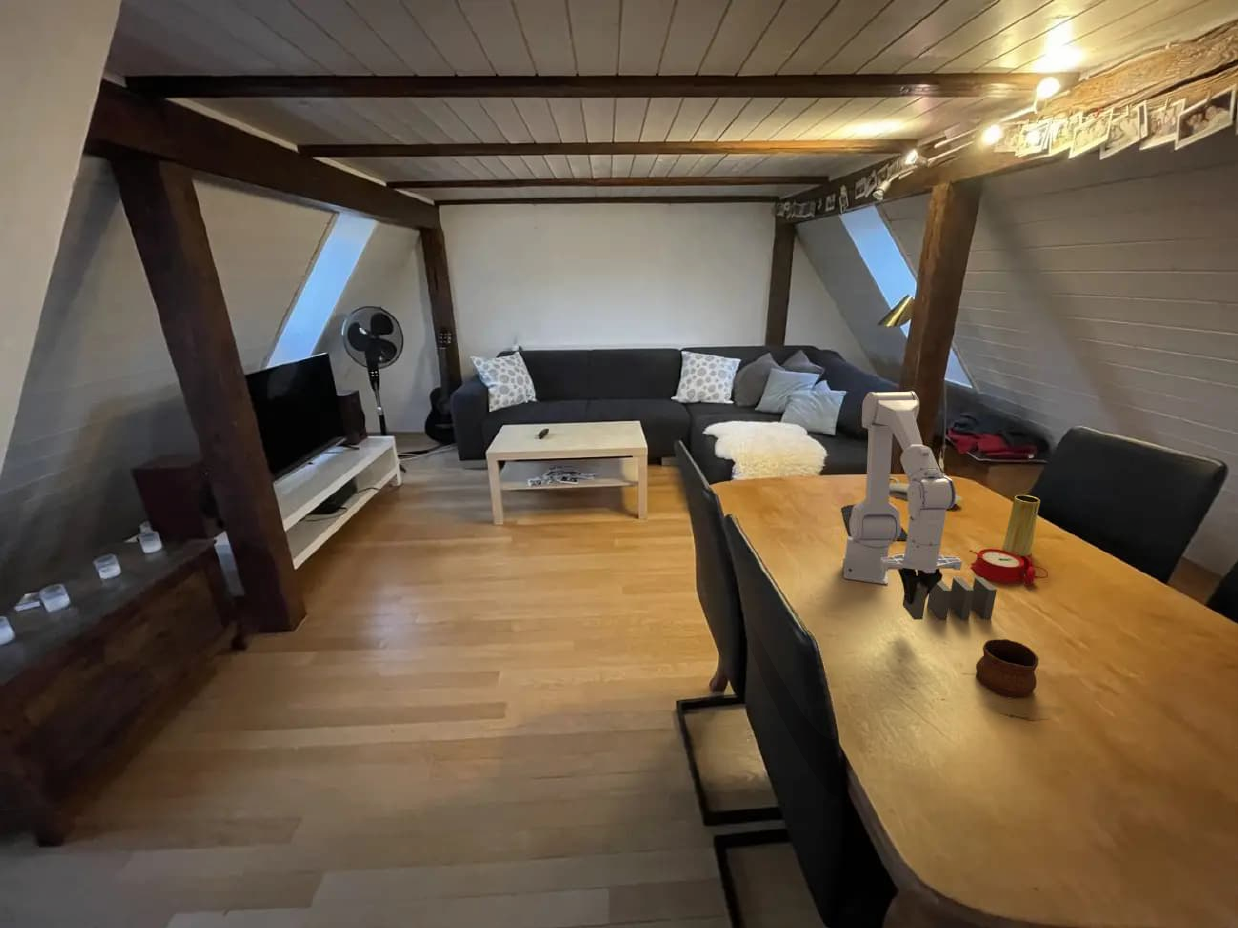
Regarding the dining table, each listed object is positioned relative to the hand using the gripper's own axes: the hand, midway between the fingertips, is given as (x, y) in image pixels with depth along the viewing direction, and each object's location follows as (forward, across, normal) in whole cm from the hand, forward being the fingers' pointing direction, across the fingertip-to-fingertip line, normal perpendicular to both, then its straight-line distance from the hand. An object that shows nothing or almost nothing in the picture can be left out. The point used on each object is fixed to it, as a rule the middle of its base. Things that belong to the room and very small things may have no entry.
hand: (914, 601), depth 112 cm
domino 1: (+7, +9, +7) cm, 13 cm away
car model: (+8, +34, +70) cm, 78 cm away
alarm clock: (+8, +33, +22) cm, 40 cm away
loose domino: (+2, 0, 0) cm, 2 cm away
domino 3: (+7, +18, +7) cm, 20 cm away
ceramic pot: (+8, +10, -15) cm, 19 cm away
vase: (+8, +42, +34) cm, 54 cm away
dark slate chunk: (+8, +13, +51) cm, 53 cm away
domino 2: (+7, +13, +7) cm, 16 cm away
